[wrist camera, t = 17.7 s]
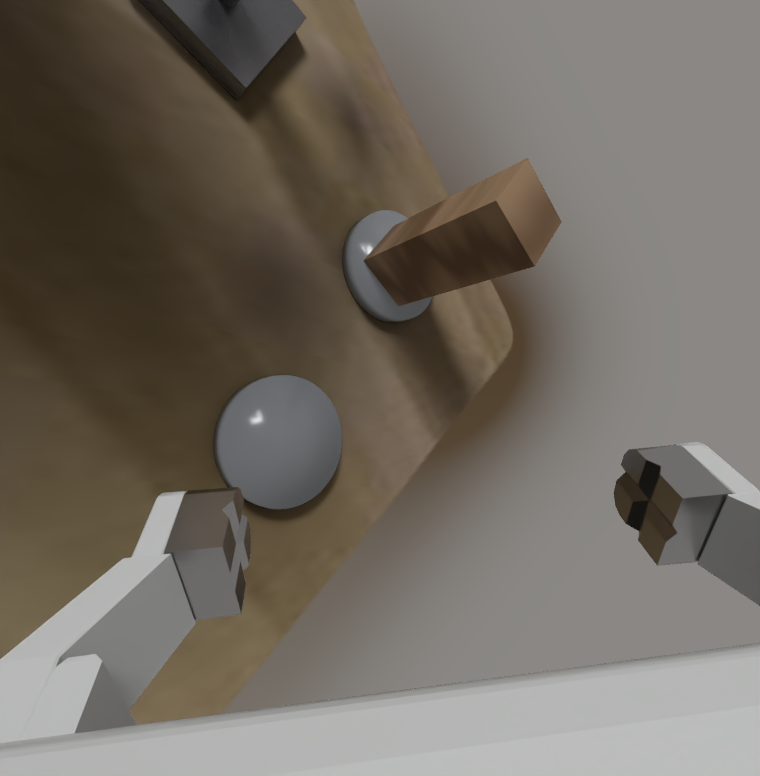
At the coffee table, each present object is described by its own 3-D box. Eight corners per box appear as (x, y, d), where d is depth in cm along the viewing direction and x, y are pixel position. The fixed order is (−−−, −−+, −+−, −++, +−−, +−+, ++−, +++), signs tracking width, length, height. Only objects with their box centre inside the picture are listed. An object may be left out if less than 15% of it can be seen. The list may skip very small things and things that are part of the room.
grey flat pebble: (323, 273, 34) (332, 269, 33) (372, 193, 37) (382, 186, 36) (401, 343, 38) (411, 341, 37) (439, 266, 41) (449, 262, 40)
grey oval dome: (185, 468, 28) (191, 469, 27) (258, 350, 31) (266, 348, 30) (296, 528, 32) (305, 531, 31) (351, 418, 35) (361, 418, 34)
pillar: (363, 260, 35) (496, 200, 25) (393, 225, 37) (527, 158, 27) (398, 306, 37) (534, 266, 27) (425, 270, 39) (561, 221, 29)
